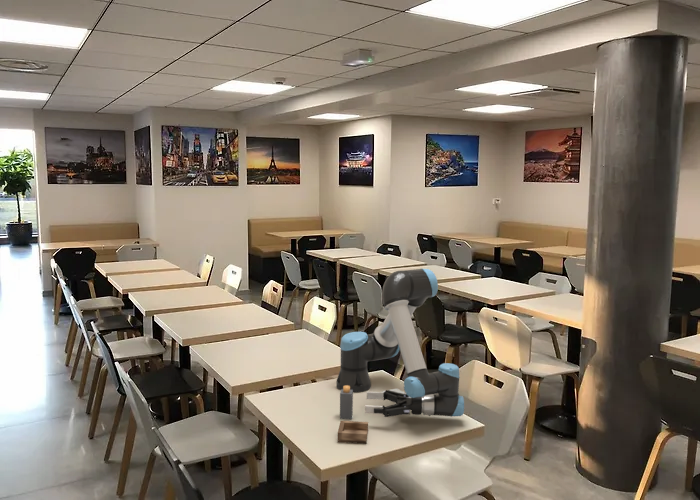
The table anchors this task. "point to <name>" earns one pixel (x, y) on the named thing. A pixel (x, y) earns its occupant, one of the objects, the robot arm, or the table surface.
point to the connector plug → (346, 403)
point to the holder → (353, 432)
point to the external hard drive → (396, 391)
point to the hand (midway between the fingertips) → (365, 402)
